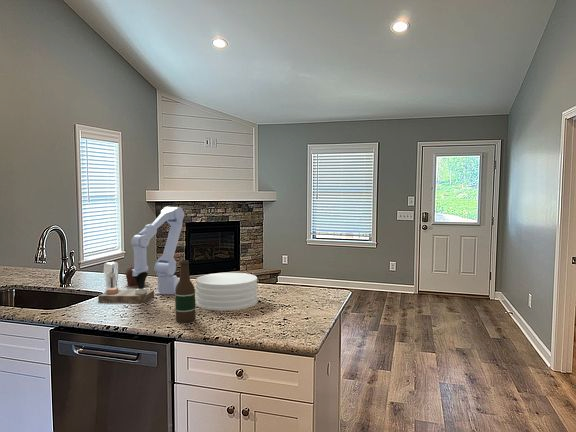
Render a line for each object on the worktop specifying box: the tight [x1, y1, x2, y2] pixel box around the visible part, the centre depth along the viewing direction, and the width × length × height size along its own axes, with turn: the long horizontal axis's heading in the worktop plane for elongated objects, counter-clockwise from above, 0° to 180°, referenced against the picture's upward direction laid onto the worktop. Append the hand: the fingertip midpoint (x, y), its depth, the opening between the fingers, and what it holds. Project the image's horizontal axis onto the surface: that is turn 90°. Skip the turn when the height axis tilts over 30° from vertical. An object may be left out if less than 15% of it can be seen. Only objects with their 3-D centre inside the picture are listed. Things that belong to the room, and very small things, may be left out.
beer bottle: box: [174, 259, 196, 324], centre depth 173 cm, size 8×8×24 cm
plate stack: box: [195, 272, 258, 312], centre depth 202 cm, size 28×28×12 cm
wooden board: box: [97, 289, 155, 304], centre depth 209 cm, size 22×12×3 cm, turn 87°
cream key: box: [134, 287, 148, 294], centre depth 209 cm, size 4×4×3 cm
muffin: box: [124, 265, 147, 287], centre depth 242 cm, size 12×11×10 cm
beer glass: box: [103, 261, 119, 293], centre depth 223 cm, size 7×7×15 cm
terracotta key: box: [105, 287, 119, 294], centre depth 209 cm, size 4×4×3 cm
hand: (141, 288), depth 208 cm, fingers closed
